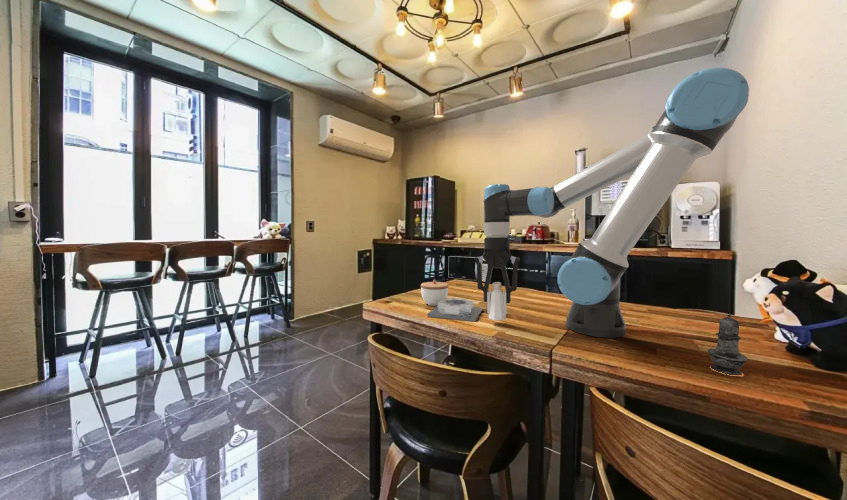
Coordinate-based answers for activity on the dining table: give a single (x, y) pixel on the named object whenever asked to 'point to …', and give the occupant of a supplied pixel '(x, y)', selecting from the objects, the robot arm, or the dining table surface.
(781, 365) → the dining table surface
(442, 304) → the grey ashtray on slab
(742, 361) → the grey stone tiered piece
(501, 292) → the salt shaker
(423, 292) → the lidded jar
